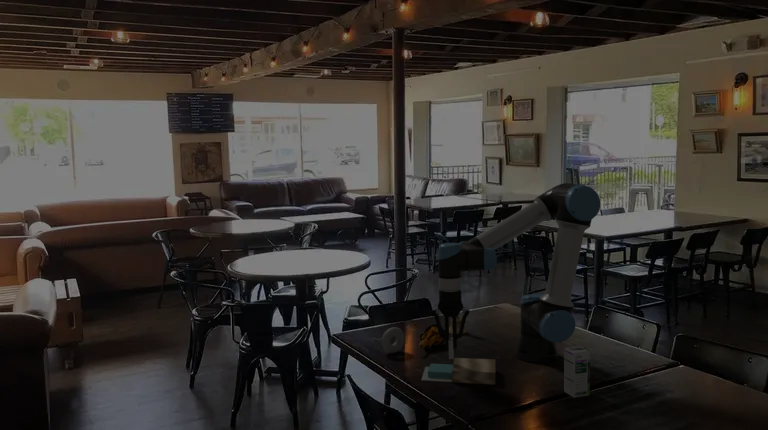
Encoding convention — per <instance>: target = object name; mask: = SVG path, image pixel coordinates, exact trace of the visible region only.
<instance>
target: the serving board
mask: <svg viewBox="0 0 768 430" xmlns="http://www.w3.org/2000/svg"><path fill="white" fill-rule="evenodd" d="M452 365H453V368H452V382H451V383H455V384H457V383H459V384H460V383H461V384H476V385H477V384H479V385H496V359H492V358H489V359H488V358H467V357H465V358H464V357H454V358H453V364H452Z"/></svg>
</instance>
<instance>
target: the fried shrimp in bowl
mask: <svg viewBox="0 0 768 430" xmlns="http://www.w3.org/2000/svg"><path fill="white" fill-rule="evenodd" d="M442 329H443V332H444V334H445V328H444V327H442ZM419 341H420V343H419V344H418V346H417V349H418V350H423V349H427V350H431V351H432V350H436V348H439V347H441V346H443V344H445V339H444V338H441V337H440V335H439V332H438V328H437V324H436V323H434V324H430V325H429V326H427V327H426V328H425V329H424V331H423V333H420V334H419Z"/></svg>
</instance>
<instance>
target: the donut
mask: <svg viewBox="0 0 768 430" xmlns="http://www.w3.org/2000/svg"><path fill="white" fill-rule="evenodd" d="M393 337H395V341H394V343H391V341H392V338H393ZM404 344H405V334H404V332H403V330H402V329H401V328H399V327H397V326H396V327H394V326H392V327H390V328H387V330H385V331H384V333H383V334H382V338H381V346H382V349H383V351H385V352H386V353H388V354H396V353H398V352H399V351H401V350H402V348H403V346H404Z"/></svg>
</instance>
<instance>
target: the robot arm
mask: <svg viewBox="0 0 768 430" xmlns="http://www.w3.org/2000/svg"><path fill="white" fill-rule="evenodd" d="M601 205H602V204H601V198H600V195H599V194H598V193H597V191H596V190H595V189H594V188H592V187H590V186H588V185H586V184H578V183H568V182H565V183H561V184H558V185H555V186H553V187H552V188H549V189H548V190H546V191H545V192H543V193H542V194H540V195H538V196H536V197H535V198H534V200H533V202H532V203H531V204H529V205H527V206H525V207H524V208H522V209H519V210H518V211H516V212H515V213H513V214H511V215H509V216H508V217H506V218H505V219H503V220H502V221H500V222H498V223H497V224H495V225H493V226H492V227H490V228H487V229H486V230H485V231H483V232H481V233H479V234H478V235H476V236H474V237H473V238H471V239H469V240H463V241H460V242H459V243H457V242H444V243H441V244H440V245H439V246H438V251H437V253H438V254H437V259H438V261H437V262H438V265H437V266H438V288H439V291H438V304H437V306H436V307H434V308H431V309H432V310H431V314H432V315H433V317H434V320H435V324H437V328H438V332H439V335H440V337H441V338H444V339H445V342H444V344H445V345H444V346H445V349H448V360H454V358H455V354H454V353H455V352H454V351H455V350H456V349H457V348H458V345H457V344H458V339H461V338H462V337H463V335H464V334H463V329H465V324H466V322H467V321H466V319H467V318H468V316H469V315H470V309H469V308H466V307H465V306H464V304H463V301H462V298H463V297H462V290H461V289H462V272H473V271H478V272H479V271H490V270H494V269H496V267H497V264H498V257H497V252H496V250H497V249H499V248H501V247H502V246H503V245H506V244H507V243H509V242H511V241H513V240H514V239H515V238H517V237H519V236H521V235H522V234H524V233H526V232H528V231H530V229H533V228H535V227H536V226H538V225H540V224H542V223H543V222H545V221H547V222H551V221H552V220H554V219H555V222H556V224H557V225H558V229H557V233H556V239H555V243H554V247H553V248H554V249H553V252H552V257H551V258H552V259H551V262H550V269H549V272H548V277H547V282H546V288H545V292H544V293H539V294H538V293H533V294H524V295H522V296H521V298H520V304H519V305H520V335H519V339H518V341H517V344H516V347H515V356H516V358H518V359H519V360H522V361H525V362H529V363H542V364H543V363H550V362H554V361H556V360H557V359H558V356H559V355H558V353H559V351H558V349H557V344H556V343H562V342H565V341H567V340H569V338H571V336H572V335H574V332H575V329H576V326H577V325H576V320H575V317H574V316H573V312H574V306H575V304H574V303H573V302H572V301H573V300H571V299H572V293H573V288H574V283H575V278H576V274H577V269H578V264H579V259H580V254H581V249H582V246H583V245H582V244H583V240H584V235H585V231H587V230H588V229H589V228H590V227H591V224H592V220H593V219H594V218H595V217H596V216H597V215H599V212H600V210H601ZM439 313H441V314H442V316H443V317H444V328H443V325H442V322H441V317H440V315H439ZM460 313H462V318H461V320H462V322H461V326H460V330H459V334H457V316H458V317H459V314H460ZM450 318H451V319H452V322H453V334H452V337H450V334H449V327H450ZM442 328H443V329H444V330H445V334H444V332H443V329H442ZM454 349H455V350H454Z"/></svg>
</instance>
